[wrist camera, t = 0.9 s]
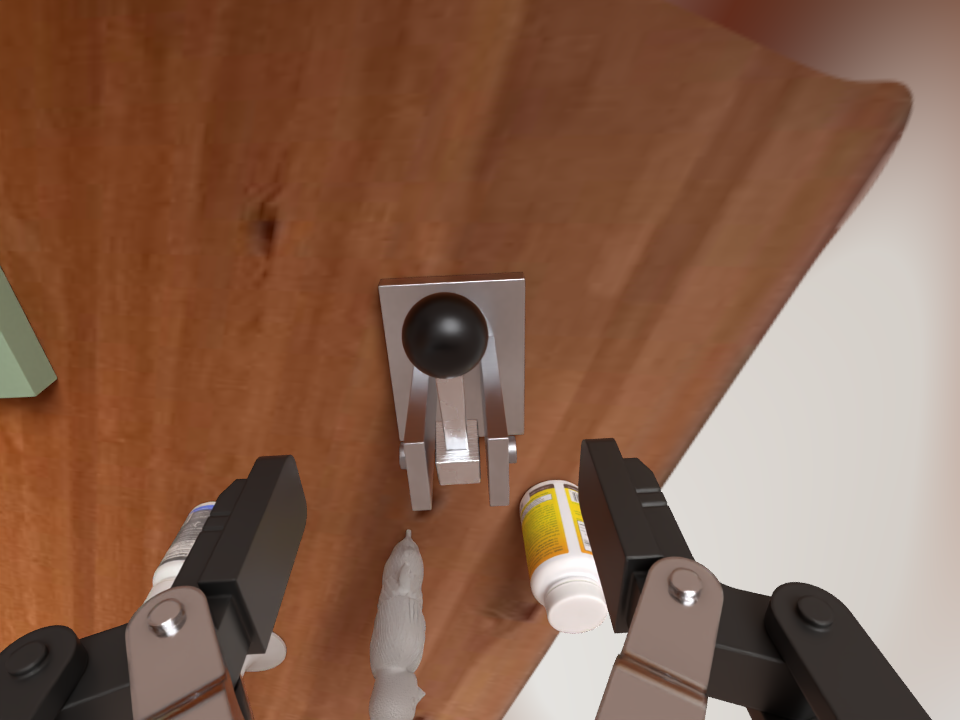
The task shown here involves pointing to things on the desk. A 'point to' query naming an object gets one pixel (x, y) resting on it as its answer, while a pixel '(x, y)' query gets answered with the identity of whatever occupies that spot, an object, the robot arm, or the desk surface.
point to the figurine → (398, 635)
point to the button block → (20, 350)
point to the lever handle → (449, 375)
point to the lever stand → (487, 386)
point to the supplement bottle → (561, 557)
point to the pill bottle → (180, 549)
